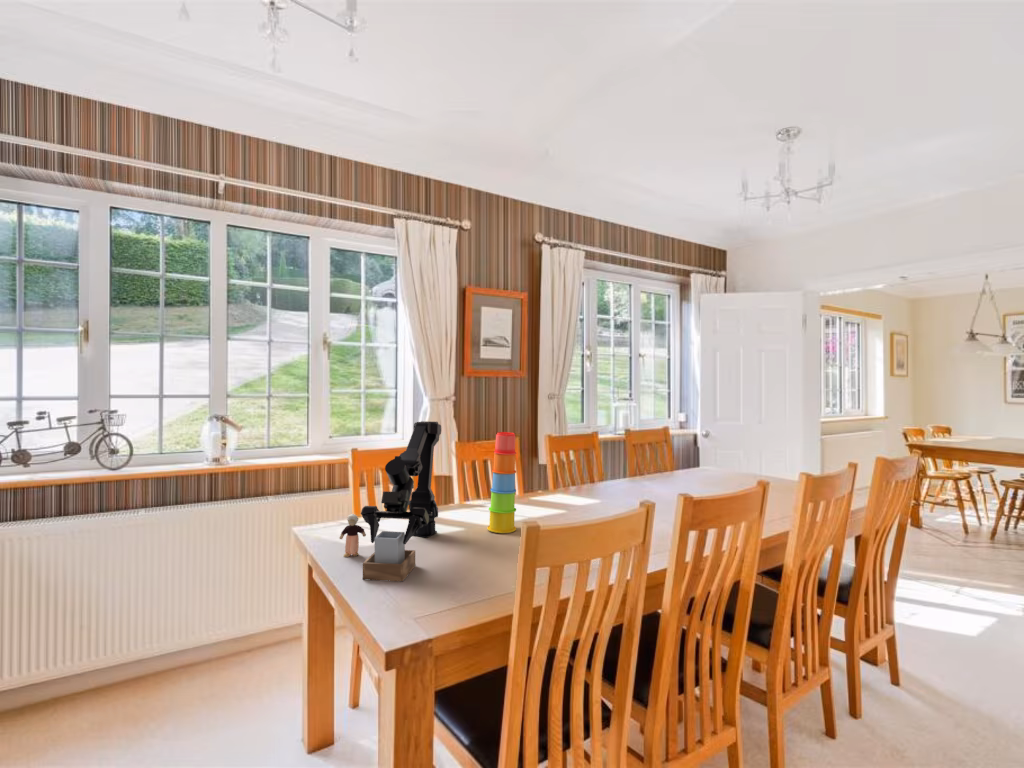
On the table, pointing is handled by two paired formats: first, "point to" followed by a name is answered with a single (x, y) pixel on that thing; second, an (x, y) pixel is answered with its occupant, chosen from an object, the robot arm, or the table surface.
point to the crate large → (389, 568)
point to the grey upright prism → (390, 547)
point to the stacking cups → (503, 485)
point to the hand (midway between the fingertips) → (388, 543)
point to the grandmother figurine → (352, 536)
